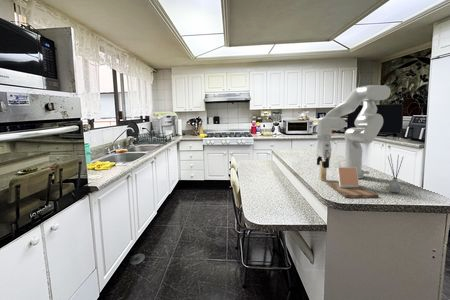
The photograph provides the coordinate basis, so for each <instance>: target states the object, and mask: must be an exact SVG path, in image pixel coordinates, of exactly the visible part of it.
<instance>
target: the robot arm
mask: <svg viewBox="0 0 450 300" xmlns="http://www.w3.org/2000/svg"><path fill="white" fill-rule="evenodd" d="M391 92H392V91H391V88H390V87H389V86H388V85H384V84H383V85H375V84H373V85H371V84H370V85H364V86H358V87H355V88H354V89H353V90H351V92H350V93H349V94H348V95H347V97H345V99H344V100H343V101H342V103H340V104H338V105H337V106H335V107H333V108H332V109H331V110H330V111H328V112H327V113H326V115H325V116H324V117H319V118H318V120H317V134H316V135H317V136H316V137H317V139H316V141H317V146H316V165H317V166H320V161H323V168H327V169H329V168H330V159H331V157H332V144H331V139H332V131H333V130H335V131H340V130H342V129H343V128H345V125H346V120H345V119H344V118H343V117H344V116H347V115H349V114H351V113H354V112H355V111H356V109H357V108H358V107H359V105H360V104H361V103H362V108H361V110H360V112H359V113H358V115H357V116H356V118H355V119H354V126H355V127H350V128H347V129H346V130H345V132H344V143H345V150H344V151H345V154H344V156H345V157H344V167H357V174H358V179H364V178H365V176H364V175H369V174H370V171H369V170H363V169H362V161H363V147H362V145H361V144H366V145H367V144H371V143H373V142H374V140H375V139H376V137H377V135H378V134H379V132H380V130H381V129H382V127H383V125H384V118H383V116H382V114H380V113H377V112H378V107H377V105H376V102H375V101H384V100H388V99H389V98H390V96H391Z"/></svg>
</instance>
